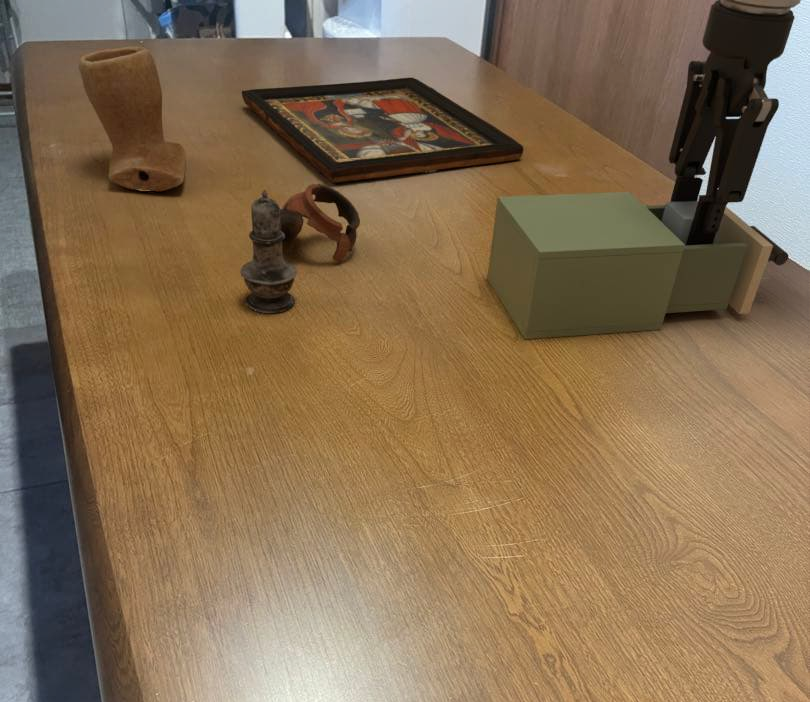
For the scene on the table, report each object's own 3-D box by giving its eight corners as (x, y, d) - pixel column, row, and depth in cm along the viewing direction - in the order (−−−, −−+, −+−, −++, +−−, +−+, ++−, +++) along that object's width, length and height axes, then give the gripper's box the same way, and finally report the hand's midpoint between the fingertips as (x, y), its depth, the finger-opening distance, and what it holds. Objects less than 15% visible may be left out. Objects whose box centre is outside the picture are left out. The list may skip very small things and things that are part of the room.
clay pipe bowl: (103, 154, 122) (82, 33, 111) (189, 155, 123) (177, 36, 113) (89, 197, 111) (65, 67, 101) (185, 197, 112) (170, 70, 102)
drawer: (731, 261, 106) (752, 197, 100) (785, 310, 97) (811, 243, 92) (585, 269, 102) (599, 202, 96) (628, 321, 93) (646, 252, 88)
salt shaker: (268, 283, 97) (262, 173, 88) (309, 300, 94) (306, 189, 86) (231, 302, 93) (221, 190, 85) (272, 321, 91) (266, 207, 83)
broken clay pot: (301, 228, 109) (334, 175, 103) (346, 284, 107) (382, 233, 102) (231, 232, 100) (263, 174, 94) (279, 293, 98) (314, 238, 93)
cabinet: (611, 272, 104) (630, 191, 97) (660, 329, 94) (685, 244, 87) (486, 279, 100) (497, 196, 94) (524, 339, 91) (539, 251, 84)
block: (655, 242, 97) (666, 201, 94) (692, 240, 98) (703, 200, 95) (673, 260, 94) (685, 219, 91) (711, 258, 95) (723, 217, 92)
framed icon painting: (543, 156, 131) (546, 136, 129) (344, 197, 115) (344, 175, 113) (402, 85, 153) (403, 67, 151) (218, 111, 138) (217, 91, 136)
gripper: (675, -18, 85) (620, 216, 101) (768, 28, 73) (689, 287, 89) (743, -17, 87) (679, 213, 103) (845, 29, 74) (754, 283, 90)
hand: (684, 247), depth 96 cm, fingers closed on block, 4 cm apart
